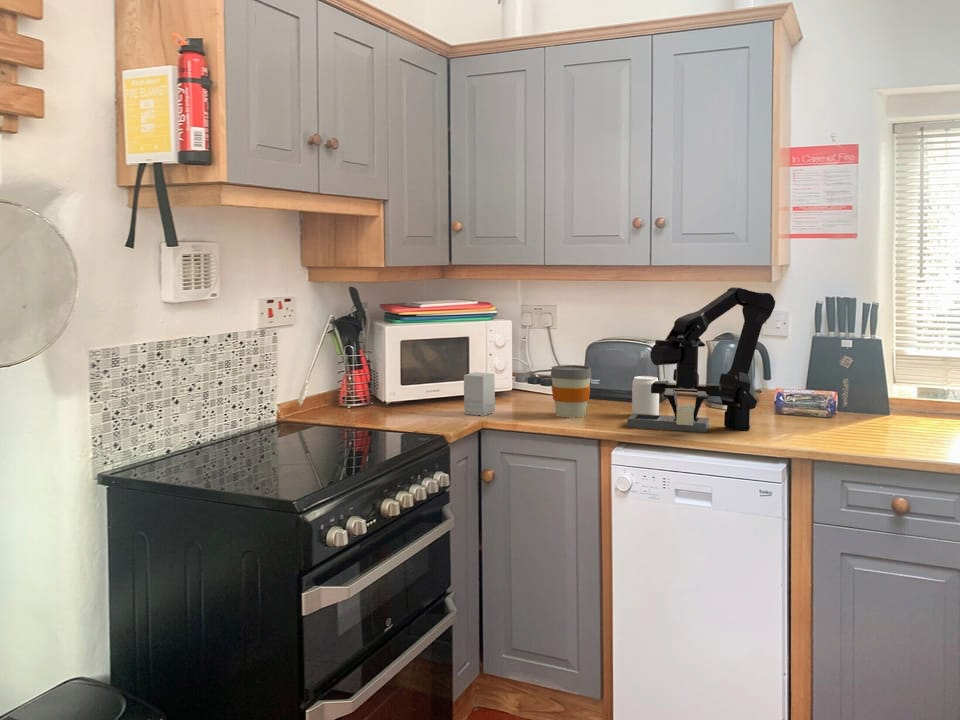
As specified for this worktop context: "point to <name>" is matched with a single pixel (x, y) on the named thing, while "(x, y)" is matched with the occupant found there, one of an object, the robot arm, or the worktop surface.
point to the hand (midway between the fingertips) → (685, 419)
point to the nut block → (685, 414)
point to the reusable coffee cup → (571, 389)
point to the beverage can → (644, 396)
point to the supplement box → (479, 393)
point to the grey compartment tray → (665, 423)
